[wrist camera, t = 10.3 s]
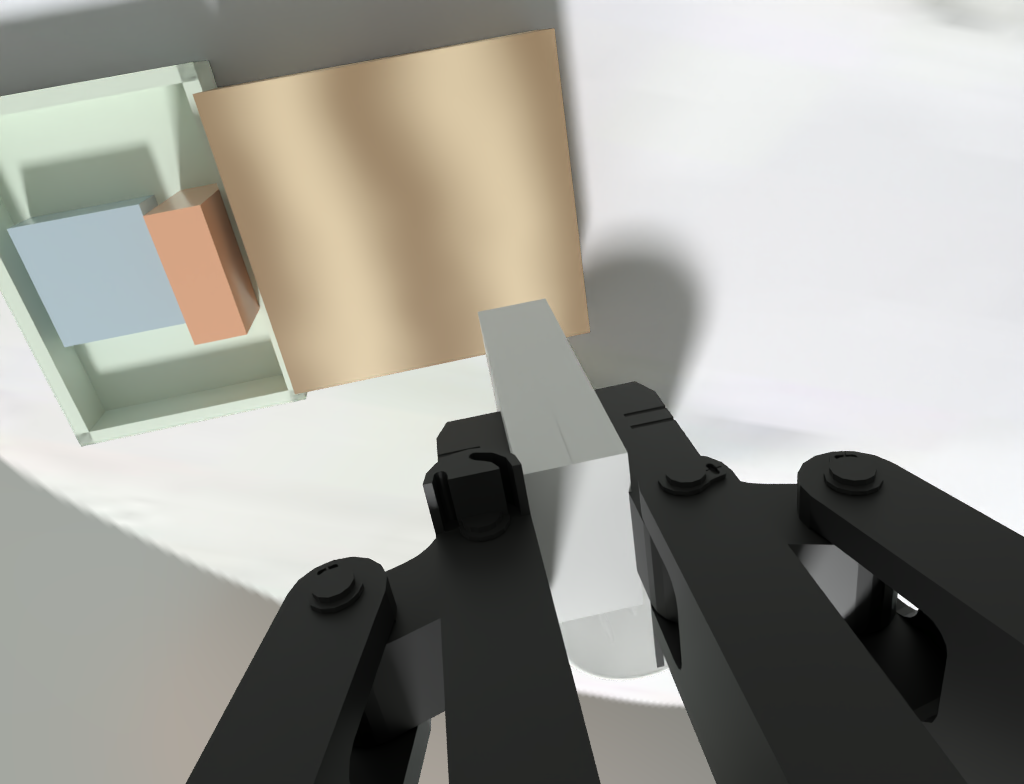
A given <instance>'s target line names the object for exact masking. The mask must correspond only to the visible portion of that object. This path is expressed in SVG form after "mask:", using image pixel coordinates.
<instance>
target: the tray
mask: <svg viewBox="0 0 1024 784" xmlns="http://www.w3.org/2000/svg"><path fill="white" fill-rule="evenodd" d="M215 88H217V85H216V82H215V79H214V76H213V73H212V70H211V66H210V63H209V61H198V62H190V63H184V64H178V65H173V66H167V67H162V68H156V69H151V70H145V71H139V72H134V73H128V74H123V75H117V76H111V77H106V78H100V79H95V80H89V81H84V82H78V83H72V84H67V85H61V86H56V87H50V88H44V89H39V90H33V91H28V92H22V93H16V94H11V95H5V96H0V291H1V293H2V295H3V297H4V299H5V301H6V303H7V305H8V307H9V309H10V311H11V312H12V314H13V316H14V318H15V320H16V322H17V324H18V326H19V328H20V330H21V332H22V334H23V336H24V338H25V339H26V341H27V343H28V345H29V347H30V349H31V351H32V353H33V355H34V357H35V359H36V361H37V363H38V364H39V366H40V368H41V370H42V372H43V374H44V376H45V378H46V380H47V382H48V384H49V386H50V388H51V389H52V391H53V393H54V395H55V397H56V399H57V401H58V403H59V405H60V407H61V409H62V411H63V413H64V414H65V416H66V418H67V420H68V422H69V424H70V426H71V428H72V430H73V432H74V434H75V436H76V438H77V439H78V441H79V443H80V445H81V446H86V445H91V444H96V443H100V442H105V441H110V440H114V439H119V438H124V437H129V436H133V435H138V434H143V433H148V432H152V431H157V430H162V429H167V428H171V427H176V426H181V425H186V424H190V423H195V422H200V421H205V420H209V419H214V418H219V417H223V416H228V415H233V414H238V413H242V412H247V411H252V410H257V409H261V408H266V407H271V406H276V405H280V404H285V403H290V402H295V401H299V400H304V399H306V395H307V392H304V393H299V394H295V393H294V390H293V387H292V384H291V381H290V378H289V376H288V373H287V370H286V367H285V364H284V361H283V358H282V355H281V352H280V349H279V346H278V343H277V340H276V337H275V335H274V332H273V329H272V326H271V323H270V320H269V317H268V314H267V311H266V308H265V305H264V302H263V299H262V296H261V294H260V291H259V288H258V285H257V282H256V279H255V276H254V273H253V270H252V267H251V264H250V261H249V258H248V255H247V253H246V250H245V247H244V244H243V241H242V238H241V235H240V232H239V229H238V226H237V223H236V220H235V217H234V214H233V212H232V209H231V206H230V203H229V200H228V197H227V194H226V191H225V188H224V185H223V182H222V179H221V176H220V173H219V171H218V168H217V165H216V162H215V159H214V156H213V153H212V150H211V147H210V144H209V141H208V138H207V135H206V132H205V130H204V127H203V124H202V121H201V118H200V115H199V112H198V109H197V106H196V103H195V100H194V97H193V94H195V93H199V92H203V91H207V90H211V89H215ZM214 183H217V185H218V188H219V191H220V194H221V197H222V200H223V203H224V205H225V208H226V211H227V214H228V217H229V220H230V223H231V226H232V229H233V231H234V234H235V237H236V240H237V243H238V246H239V249H240V252H241V255H242V258H243V260H244V263H245V266H246V269H247V272H248V275H249V278H250V281H251V284H252V287H253V289H254V292H255V295H256V298H257V301H258V304H259V307H260V309H259V311H258V313H257V315H256V317H255V319H254V321H253V323H252V325H251V327H250V329H249V331H248V333H247V335H242V336H237V337H232V338H228V339H223V340H218V341H213V342H208V343H203V344H198V345H194V342H193V340H192V337H191V335H190V332H189V330H188V327H187V325H186V323H184V324H179V325H174V326H169V327H164V328H159V329H154V330H149V331H144V332H139V333H134V334H129V335H124V336H119V337H114V338H109V339H104V340H99V341H94V342H89V343H84V344H79V345H74V346H69V347H64V345H63V343H62V341H61V339H60V337H59V335H58V333H57V331H56V329H55V327H54V325H53V323H52V321H51V318H50V316H49V314H48V312H47V310H46V308H45V306H44V304H43V302H42V300H41V298H40V296H39V294H38V292H37V290H36V288H35V286H34V284H33V282H32V280H31V278H30V276H29V274H28V272H27V270H26V268H25V265H24V263H23V261H22V259H21V257H20V255H19V253H18V251H17V249H16V247H15V245H14V243H13V241H12V239H11V237H10V235H9V233H8V231H7V229H8V228H10V227H12V226H14V225H16V224H18V223H20V222H22V221H24V220H26V219H28V218H31V217H36V216H42V215H47V214H52V213H58V212H63V211H68V210H74V209H79V208H84V207H90V206H95V205H100V204H106V203H111V202H117V201H122V200H127V199H133V198H138V197H143V196H149V195H155V198H156V201H157V203H158V205H160V204H161V203H162V202H164V201H165V200H167V199H168V198H170V197H171V196H173V195H174V194H175V193H177V192H178V191H180V190H183V189H188V188H193V187H199V186H204V185H209V184H214Z"/></svg>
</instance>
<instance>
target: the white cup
mask: <svg viewBox="0 0 1024 784" xmlns="http://www.w3.org/2000/svg"><path fill="white" fill-rule="evenodd" d="M641 586H642V596H643V604H642V605H637V606H633V607H628V608H624V609H619V610H614V611H610V612H605V613H601V614H596V615H591V616H587V617H582V618H578V619H573V620H569V621H564V622H559V625H560V629H561V633H562V637H563V641H564V644H565V648H566V652H567V656H568V660H569V664H570V666H572V667H573V668H575V669H576V670H578V671H580V672H582V673H584V674H586V675H589V676H592V677H595V678H599V679H604V680H613V681H626V680H636V679H641V678H646V677H650V676H653V675H657V674H659V673H662V672H665V671H667V670H669V667H668V664H667V662H666V659H665V657H664V666H663V667H658V668H657V663H656V656H655V646H654V636H653V626H652V615H651V605H650V600H649V598H648V595H647V593H646V591H645V588H644V586H643V584H642V581H641Z"/></svg>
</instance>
